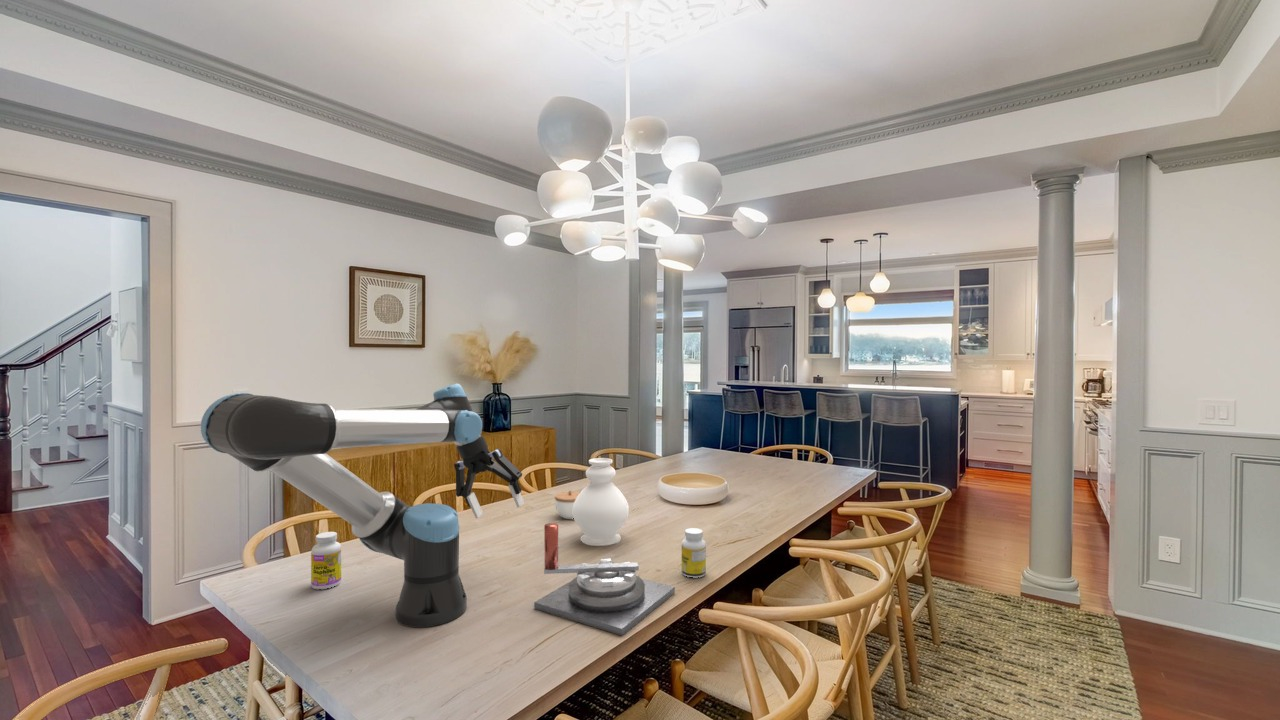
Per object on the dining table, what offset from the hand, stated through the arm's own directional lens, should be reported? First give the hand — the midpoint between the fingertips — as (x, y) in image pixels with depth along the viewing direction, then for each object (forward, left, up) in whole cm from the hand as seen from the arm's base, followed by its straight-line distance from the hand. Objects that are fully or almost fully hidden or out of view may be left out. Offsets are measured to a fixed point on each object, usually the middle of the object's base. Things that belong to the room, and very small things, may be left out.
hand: (499, 510), depth 152 cm
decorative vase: (+33, -10, -16) cm, 38 cm away
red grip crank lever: (-4, -33, -12) cm, 36 cm away
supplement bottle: (-31, +30, -16) cm, 46 cm away
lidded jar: (+47, +13, -16) cm, 52 cm away
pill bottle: (+23, -47, -16) cm, 55 cm away
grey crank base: (-2, -36, -16) cm, 40 cm away
